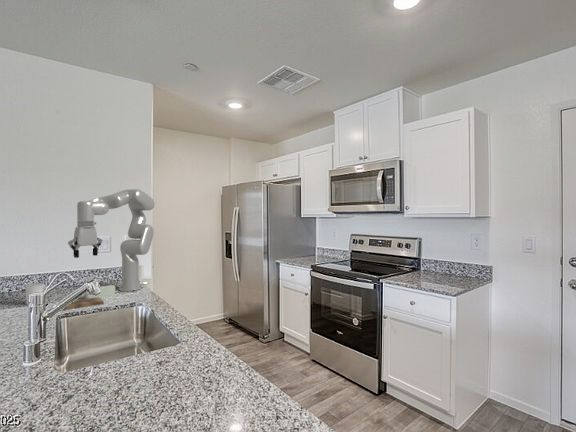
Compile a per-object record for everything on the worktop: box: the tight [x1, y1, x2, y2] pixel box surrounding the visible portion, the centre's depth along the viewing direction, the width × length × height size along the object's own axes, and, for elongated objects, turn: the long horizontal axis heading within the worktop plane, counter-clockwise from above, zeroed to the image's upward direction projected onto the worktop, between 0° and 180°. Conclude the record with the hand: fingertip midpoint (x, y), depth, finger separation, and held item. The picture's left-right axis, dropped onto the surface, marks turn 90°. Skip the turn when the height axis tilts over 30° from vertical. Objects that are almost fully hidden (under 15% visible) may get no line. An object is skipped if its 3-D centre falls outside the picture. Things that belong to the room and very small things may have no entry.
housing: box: [84, 284, 116, 299], centre depth 181 cm, size 14×6×6 cm, turn 131°
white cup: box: [24, 282, 45, 306], centre depth 169 cm, size 8×8×10 cm
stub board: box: [53, 293, 104, 311], centre depth 164 cm, size 20×12×5 cm, turn 131°
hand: (86, 256), depth 169 cm, fingers open, 9 cm apart
